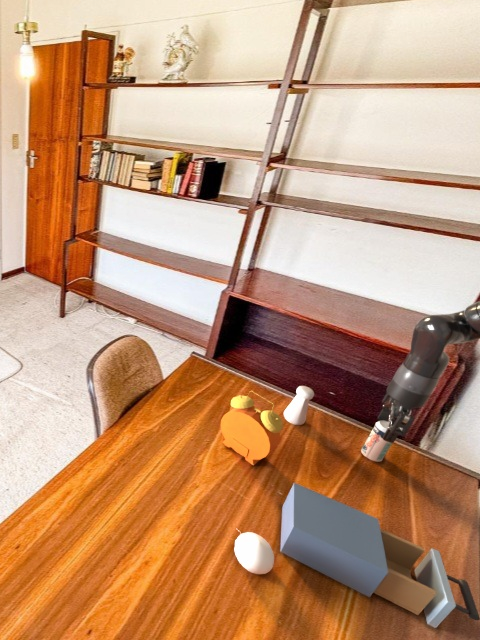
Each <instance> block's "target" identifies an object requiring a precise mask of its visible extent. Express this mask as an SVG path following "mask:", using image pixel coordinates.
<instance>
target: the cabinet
mask: <svg viewBox="0 0 480 640" xmlns="http://www.w3.org/2000/svg"><path fill="white" fill-rule="evenodd" d="M380 529H381V525H380V519H379V518H378V517H374V516H373V515H370V514H367V513H366V512H363V511H361V510H359V509H356V508H354V507H352V506H349V505H347V504H345V503H342V502H341V501H338V500H336V499H333V498H331V497H328V496H327V495H324V494H322V493H320V492H317V491H315V490H312V489H310V488H307V487H306V486H303V485H301V484H299V483H296V482H293V483H292V486H291V488H290V490H289V492H288V494H287V496H286V498H285V501H284V503H283V505H282V508H281V529H280V550H279V552H280V553H281V554H284V555H286V556H288V557H289V558H291V559H293V560H295V561H298V562H299V563H301V564H303V565H305V566H307V567H309V568H310V569H311V568H312V569H313V570H315V571H317V572H319V573H321V574H323V575H325V576H326V577H328V578H331V579H332V580H334V581H337V582H338V583H341V584H342V585H344V586H346V587H348V588H349V589H352V590H354V591H356V592H357V593H360V594H362V595H363V596H366V597H367V598H371V596H372V594H374V593H373V592H374V591H375V590H376V588H377V587H378V586H379V584H380V583H381V582H382V580H383V579H384V578H385V576H386V575H387V574H388V568H387V562H386V557H385V551H384V546H383V541H382V535H381V530H380Z"/></svg>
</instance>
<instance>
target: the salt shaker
mask: <svg viewBox="0 0 480 640" xmlns="http://www.w3.org/2000/svg"><path fill="white" fill-rule="evenodd" d="M295 393H296V395H295V397H294V398H293V399H292V400H291V402H290V403H289V404H288V405H287V407H286V408H285V410H284V411H283V418H284V419H285V420H286V422H288V423H290V424H292V425H294V426H302V425H304V424H305V422H306V421H307V418H308V417H307V416H308V409H309V403H310V400H313V398H314V396H315V391H314V390H313V389H312V388H311V387H308V386H306V385H299V386H298V387H297V388H296V391H295Z"/></svg>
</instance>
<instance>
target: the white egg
mask: <svg viewBox="0 0 480 640" xmlns="http://www.w3.org/2000/svg"><path fill="white" fill-rule="evenodd" d="M237 531H238V532H239V533H240V534H239V535H238V536H237V537H236V538H235V540H234V548H233V549H234V554H235V557H236V558H237V561H238V563H239V564H240V565H241V566H242V567H243V568H244V569H245V570H246V571H248V572H250V573H252V574H254V575H266V574H267V573H269V572H270V571H271V570H272V569H273V568H274V565H275V555H274V551H273V548H272V546H271V545H270V543H269V542H268V541H267V540H266V539H265V538H264V537H263V536H262V535H259V534H257V533H255V532H252V531H251V532H243V533H241V531H240V530H238V529H237Z"/></svg>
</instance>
